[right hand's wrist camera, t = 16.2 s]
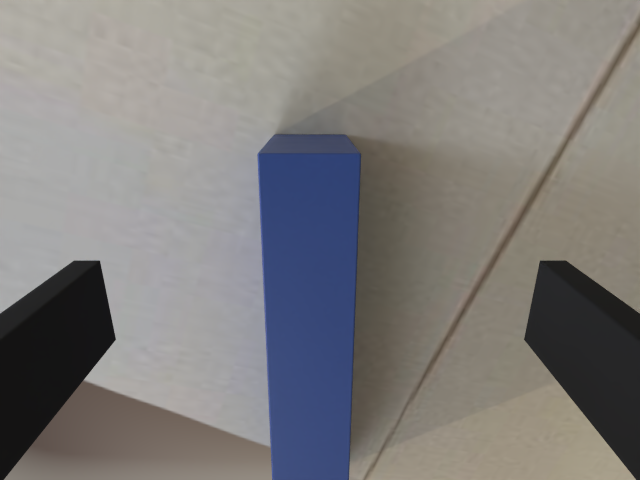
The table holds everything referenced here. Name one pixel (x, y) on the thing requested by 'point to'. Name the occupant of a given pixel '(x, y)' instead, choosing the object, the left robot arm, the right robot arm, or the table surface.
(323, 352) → the bar
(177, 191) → the table surface
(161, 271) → the table surface
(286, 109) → the table surface
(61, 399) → the right robot arm
